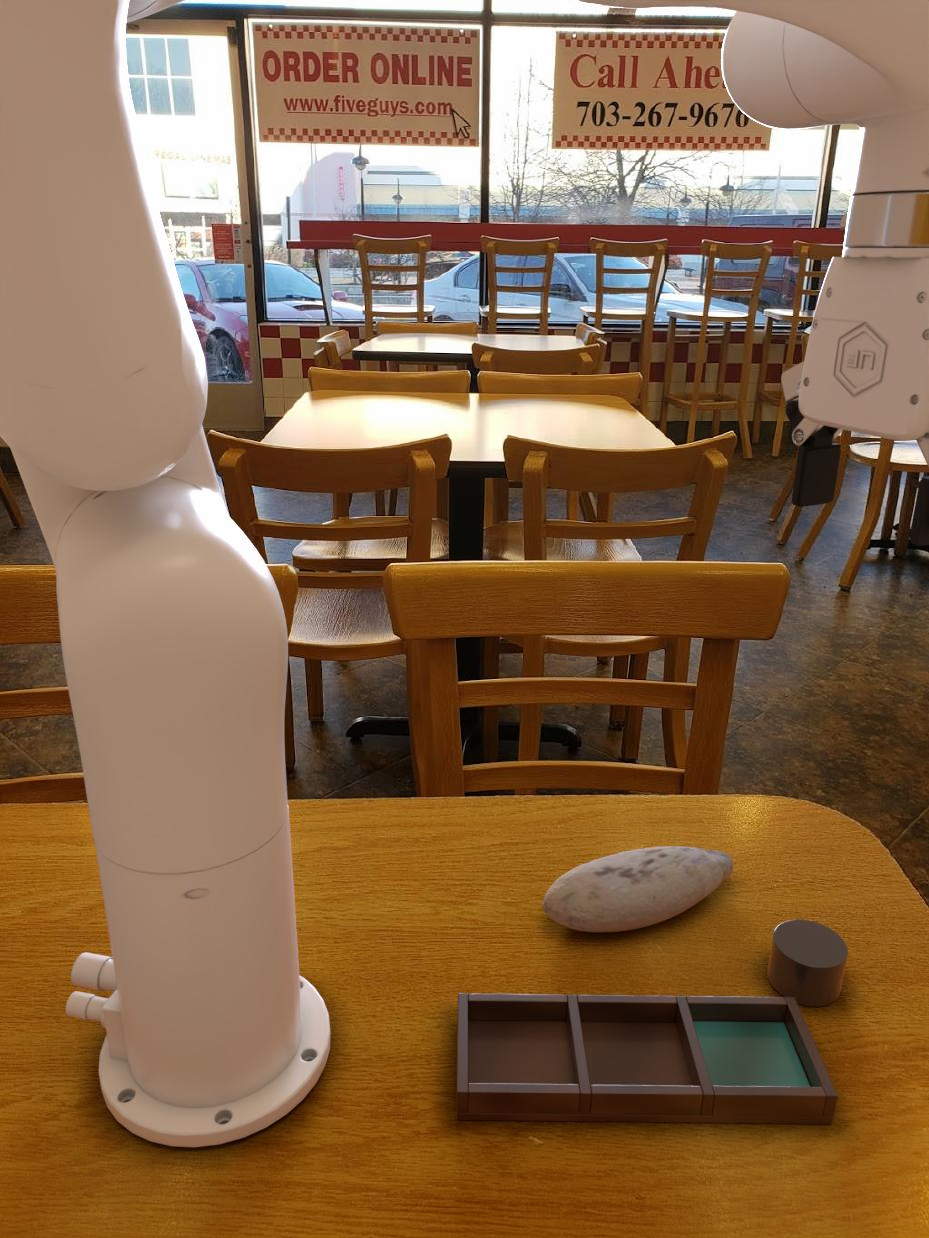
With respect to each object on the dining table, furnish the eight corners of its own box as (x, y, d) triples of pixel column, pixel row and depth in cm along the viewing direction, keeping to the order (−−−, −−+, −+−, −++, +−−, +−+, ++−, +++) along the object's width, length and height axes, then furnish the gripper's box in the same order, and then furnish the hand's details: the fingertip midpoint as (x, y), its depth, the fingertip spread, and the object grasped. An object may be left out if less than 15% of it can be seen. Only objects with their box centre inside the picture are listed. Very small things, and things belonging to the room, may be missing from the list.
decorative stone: (754, 899, 67) (760, 859, 65) (570, 966, 60) (573, 922, 59) (698, 853, 72) (703, 815, 71) (522, 910, 65) (524, 869, 64)
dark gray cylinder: (769, 999, 58) (775, 960, 57) (764, 951, 62) (770, 914, 61) (845, 1012, 57) (853, 973, 56) (835, 963, 61) (842, 925, 60)
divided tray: (789, 1023, 56) (794, 996, 55) (832, 1124, 49) (838, 1096, 49) (457, 1019, 56) (457, 992, 55) (456, 1120, 49) (456, 1091, 49)
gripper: (760, 232, 59) (731, 497, 66) (1008, 227, 45) (941, 568, 51) (849, 233, 62) (813, 487, 69) (1109, 229, 48) (1033, 551, 54)
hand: (867, 521), depth 60 cm, fingers open, 9 cm apart
